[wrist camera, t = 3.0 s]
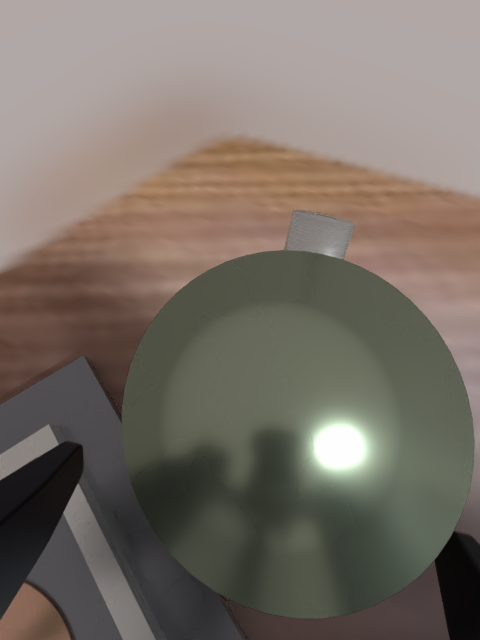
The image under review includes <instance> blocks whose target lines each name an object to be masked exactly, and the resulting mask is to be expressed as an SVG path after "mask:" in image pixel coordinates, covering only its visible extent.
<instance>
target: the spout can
mask: <svg viewBox="0 0 480 640" xmlns="http://www.w3.org/2000/svg"><path fill="white" fill-rule="evenodd" d="M354 225H355V223H353V222H351V221H348V220H345V219H342V218H339V217H335V216H331V215H327V214H322V213H317V212H311V211H304V210H294V211H293V215H292V219H291V223H290V227H289V232H288V236H287V240H286V244H285V248H284V250H281V251H268V252H261V253H256V254H251V255H245V256H242V257H239V258H236V259H233V260H230V261H227V262H225V263H223V264H220V265H218V266H216V267H214V268H212V269H210V270H208V271H206V272H205V273H203V274H201V275H200V276H198V277H197V278H195V279H193V280H192V281H191V282H189V283H188V284H187V285H186V286H185V287H183V288H182V289H181V290H180V291H178V292H177V293H176V294H175V295H174V296H173V297H172V298H171V299H170V300H169V301H168V302H167V303H166V304H165V306H164V307H163V308H162V309H161V310H160V312H159V313H158V314H157V316H156V317H155V318H154V320H153V321H152V322H151V324H150V325H149V327H148V329H147V331H146V332H145V334H144V336H143V338H142V339H141V341H140V343H139V345H138V348H137V350H136V353H135V355H134V357H133V360H132V362H131V365H130V369H129V373H128V376H127V380H126V384H125V389H124V397H123V404H122V442H123V450H124V457H125V463H126V466H127V470H128V474H129V478H130V482H131V485H132V488H133V490H134V493H135V495H136V498H137V500H138V503H139V505H140V507H141V510H142V512H143V513H144V515H145V517H146V519H147V520H148V522H149V524H150V526H151V527H152V529H153V531H154V532H155V534H156V535H157V537H158V538H159V539H160V541H161V542H162V543H163V544H164V546H165V547H166V548H167V550H168V551H169V552H170V553H171V555H172V556H173V557H174V558H175V559H176V560H177V561H178V562H179V563H180V564H181V565H182V566H183V567H184V568H185V569H186V570H187V571H189V572H190V573H191V574H192V575H193V576H194V577H195V578H197V579H198V580H200V581H201V582H202V583H204V584H205V585H207V586H208V587H209V588H211V589H212V590H213V591H215V592H216V593H218V594H220V595H222V596H224V597H226V598H228V599H230V600H232V601H234V602H236V603H238V604H240V605H242V606H245V607H248V608H251V609H254V610H257V611H260V612H263V613H266V614H271V615H277V616H283V617H289V618H328V617H334V616H340V615H346V614H351V613H354V612H357V611H360V610H363V609H365V608H368V607H371V606H374V605H376V604H378V603H380V602H382V601H384V600H386V599H387V598H389V597H391V596H393V595H395V594H397V593H398V592H400V591H401V590H402V589H404V588H405V587H406V586H407V585H409V584H410V583H411V582H413V581H414V580H415V579H416V578H418V577H419V576H420V575H421V574H422V573H423V572H424V571H425V570H426V568H427V567H428V566H429V565H430V564H431V563H432V562H433V561H434V560H435V559H436V558H437V556H438V555H439V553H440V552H441V550H442V549H443V547H444V546H445V545H446V543H447V542H448V540H449V539H450V537H451V535H452V533H453V531H454V529H455V527H456V525H457V523H458V521H459V519H460V517H461V515H462V512H463V509H464V505H465V502H466V499H467V496H468V493H469V489H470V483H471V478H472V472H473V466H474V430H473V419H472V413H471V409H470V404H469V399H468V394H467V391H466V388H465V385H464V382H463V380H462V377H461V374H460V371H459V369H458V367H457V365H456V363H455V361H454V358H453V356H452V354H451V352H450V350H449V349H448V347H447V345H446V344H445V342H444V341H443V339H442V337H441V336H440V334H439V333H438V331H437V330H436V329H435V327H434V326H433V325H432V324H431V322H430V321H429V320H428V318H427V317H426V316H425V315H424V314H423V313H422V312H421V311H420V310H419V309H418V307H417V306H416V305H415V304H414V303H413V302H412V301H411V300H410V299H408V298H407V297H406V296H405V295H404V294H402V293H401V292H400V291H399V290H398V289H396V288H395V287H394V286H392V285H391V284H389V283H388V282H386V281H385V280H383V279H382V278H380V277H379V276H377V275H375V274H374V273H372V272H370V271H368V270H366V269H364V268H362V267H360V266H358V265H355V264H353V263H350V262H347V261H345V260H344V257H345V253H346V250H347V247H348V244H349V241H350V238H351V234H352V231H353V228H354Z"/></svg>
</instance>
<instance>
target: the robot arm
mask: <svg viewBox="0 0 480 640" xmlns="http://www.w3.org/2000/svg"><path fill="white" fill-rule="evenodd" d="M83 469H84V458H83V446H82V445H81V444H79V443H75V442H71V441H65V442H62V443H61V444H59V445H57V446H56V447H54V448H52V449H51V450H49V451H47V452H46V453H44V454H42V455H41V456H39V457H37V458H36V459H34V460H33V461H31V462H29V463H28V464H26V465H24V466H23V467H21V468H19V469H18V470H16V471H14V472H13V473H11V474H9V475H8V476H6V477H4V478H3V479H1V480H0V620H1V619H2V617H3V615H4V614H5V612H6V611H7V609H8V607H9V606H10V604H11V603H12V601H13V599H14V598H15V596H16V594H17V593H18V591H19V590H20V588H21V586H22V585H23V583H24V581H25V580H26V578H27V577H28V575H29V573H30V572H31V570H32V569H33V567H34V565H35V564H36V562H37V560H38V559H39V557H40V556H41V554H42V552H43V551H44V549H45V547H46V546H47V544H48V542H49V540H50V538H51V537H52V535H53V533H54V531H55V529H56V527H57V525H58V523H59V521H60V519H61V517H62V515H63V513H64V511H65V509H66V507H67V505H68V502H69V500H70V498H71V496H72V494H73V492H74V490H75V488H76V486H77V484H78V482H79V480H80V478H81V476H82V473H83ZM435 566H436V571H437V576H438V581H439V586H440V592H441V597H442V602H443V607H444V612H445V618H446V623H447V628H448V632H449V637H450V640H480V544H479V543H478V542H477V541H476V540H475V539H474V538H473V537H472V536H471V535H469V534H467V533H463V532H459V531H455V530H454V531H453V533H452V535H451V537H450V539H449V540H448V542H447V543H446V545H445V546H444V547H443V549H442V550H441V552H440V553H439V555H438V556H437V558H436V559H435Z"/></svg>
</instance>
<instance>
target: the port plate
mask: <svg viewBox="0 0 480 640" xmlns="http://www.w3.org/2000/svg"><path fill="white" fill-rule="evenodd" d="M65 441H71V442H75V443H79V444H81V445H82V446H83V458H84V469H83V473H82V476H81V478H80V480H79V482H78V484H77V486H76V488H75V490H74V492H73V494H72V496H71V498H70V500H69V502H68V505H67V507H66V509H65V511H64V513H63V515H62V517H61V519H60V521H59V523H58V525H57V527H56V529H55V531H54V533H53V535H52V537H51V538H50V540H49V542H48V544H47V546H46V547H45V549H44V551H43V552H42V554H41V556H40V557H39V559H38V560H37V562H36V564H35V565H34V567H33V569H32V570H31V572H30V573H29V575H28V577H27V578H26V580H25V581H24V583H23V585H22V586H21V588H20V590H19V591H18V593H17V594H16V596H15V598H14V599H13V601H12V603H11V604H10V606H9V607H8V609H7V611H6V612H5V614H4V615H3V617H2V619H1V620H0V640H247V638H246V636H245V635H244V633H243V631H242V629H241V628H240V626H239V624H238V622H237V620H236V619H235V617H234V615H233V613H232V612H231V610H230V608H229V606H228V605H227V603H226V601H225V599H224V597H223V596H222V595H220V594H218V593H216V592H215V591H213V590H212V589H211V588H209V587H208V586H207V585H205V584H204V583H202V582H201V581H200V580H198V579H197V578H195V577H194V576H193V575H192V574H191V573H190V572H189V571H187V570H186V569H185V568H184V567H183V566H182V565H181V564H180V563H179V562H178V561H177V560H176V559H175V558H174V557H173V556H172V555H171V553H170V552H169V551H168V550H167V548H166V547H165V546H164V544H163V543H162V542H161V541H160V539H159V538H158V537H157V535H156V534H155V532H154V531H153V529H152V527H151V526H150V524H149V522H148V520H147V519H146V517H145V515H144V513H143V512H142V510H141V507H140V505H139V503H138V500H137V498H136V495H135V493H134V490H133V488H132V485H131V482H130V478H129V474H128V470H127V466H126V463H125V457H124V450H123V442H122V417H121V415H120V413H119V411H118V410H117V408H116V406H115V404H114V403H113V401H112V399H111V397H110V395H109V394H108V392H107V390H106V388H105V387H104V385H103V383H102V381H101V379H100V378H99V376H98V374H97V372H96V371H95V369H94V367H93V365H92V364H91V362H90V360H89V359H88V358H87V357H85V356H81V357H80V358H78V359H76V360H75V361H73V362H71V363H69V364H68V365H66V366H64V367H63V368H61V369H59V370H58V371H56V372H54V373H53V374H51V375H49V376H48V377H46V378H44V379H42V380H41V381H39V382H37V383H36V384H34V385H32V386H31V387H29V388H27V389H26V390H24V391H22V392H21V393H19V394H17V395H15V396H14V397H12V398H10V399H9V400H7V401H5V402H4V403H2V404H0V480H1V479H3V478H4V477H6V476H8V475H9V474H11V473H13V472H14V471H16V470H18V469H19V468H21V467H23V466H24V465H26V464H28V463H29V462H31V461H33V460H34V459H36V458H37V457H39V456H41V455H42V454H44V453H46V452H47V451H49V450H51V449H52V448H54V447H56V446H57V445H59V444H61V443H62V442H65Z"/></svg>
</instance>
